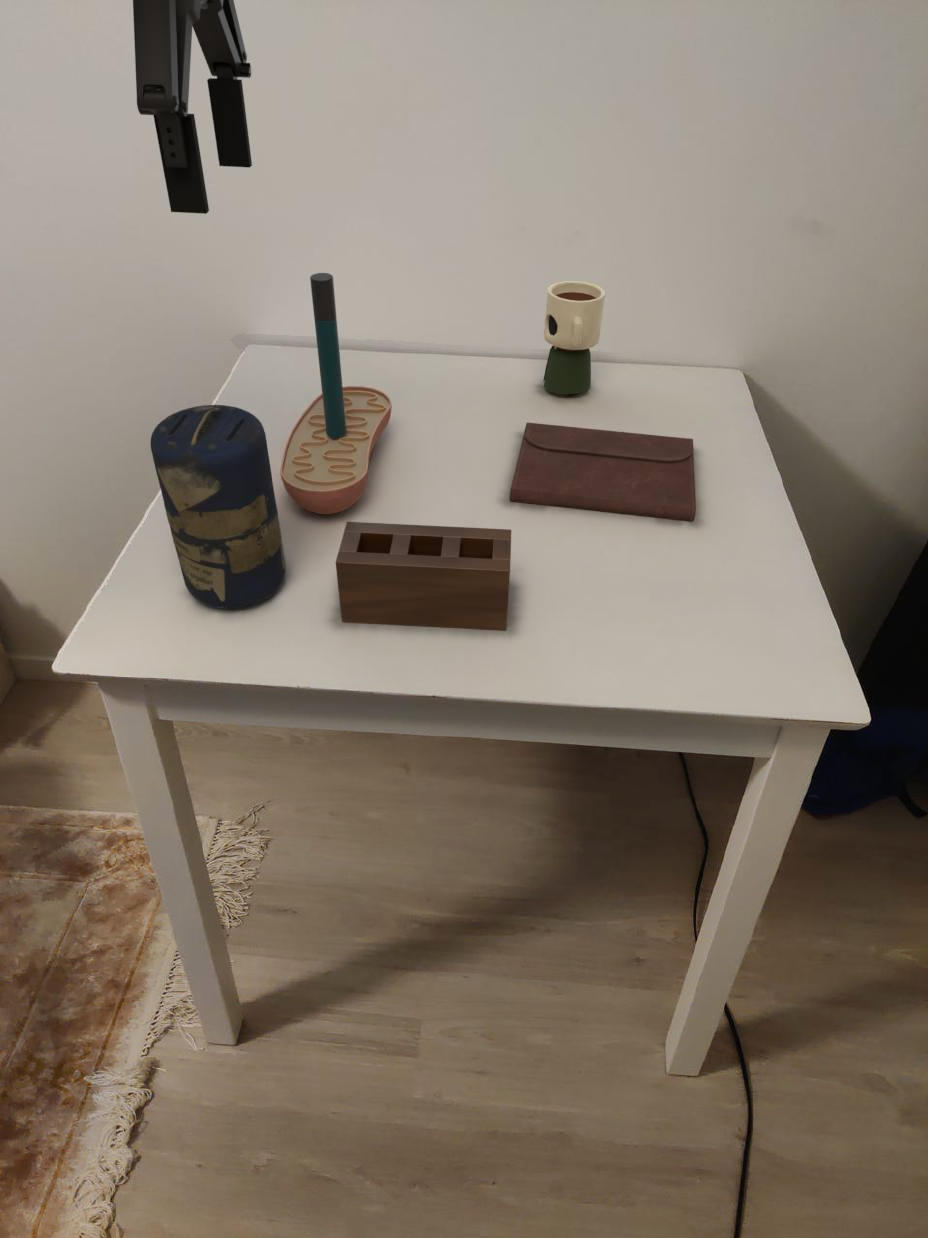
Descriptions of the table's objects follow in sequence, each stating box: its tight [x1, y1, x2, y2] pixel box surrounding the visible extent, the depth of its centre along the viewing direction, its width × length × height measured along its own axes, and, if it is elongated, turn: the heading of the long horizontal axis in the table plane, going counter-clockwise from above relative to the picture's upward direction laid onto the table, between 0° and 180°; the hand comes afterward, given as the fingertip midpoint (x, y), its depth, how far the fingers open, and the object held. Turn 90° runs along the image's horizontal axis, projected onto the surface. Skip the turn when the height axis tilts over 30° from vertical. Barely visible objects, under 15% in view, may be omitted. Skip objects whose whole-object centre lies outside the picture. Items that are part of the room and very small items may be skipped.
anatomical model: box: [279, 385, 392, 515], centre depth 96 cm, size 23×10×5 cm, turn 174°
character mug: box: [542, 280, 606, 395], centre depth 109 cm, size 11×7×13 cm, turn 0°
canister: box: [149, 404, 286, 610], centre depth 76 cm, size 10×10×18 cm
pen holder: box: [335, 521, 512, 632], centre depth 78 cm, size 6×15×7 cm, turn 87°
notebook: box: [509, 422, 697, 522], centre depth 97 cm, size 15×20×2 cm
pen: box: [309, 272, 346, 438], centre depth 88 cm, size 2×2×17 cm
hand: (214, 187), depth 70 cm, fingers open, 13 cm apart
